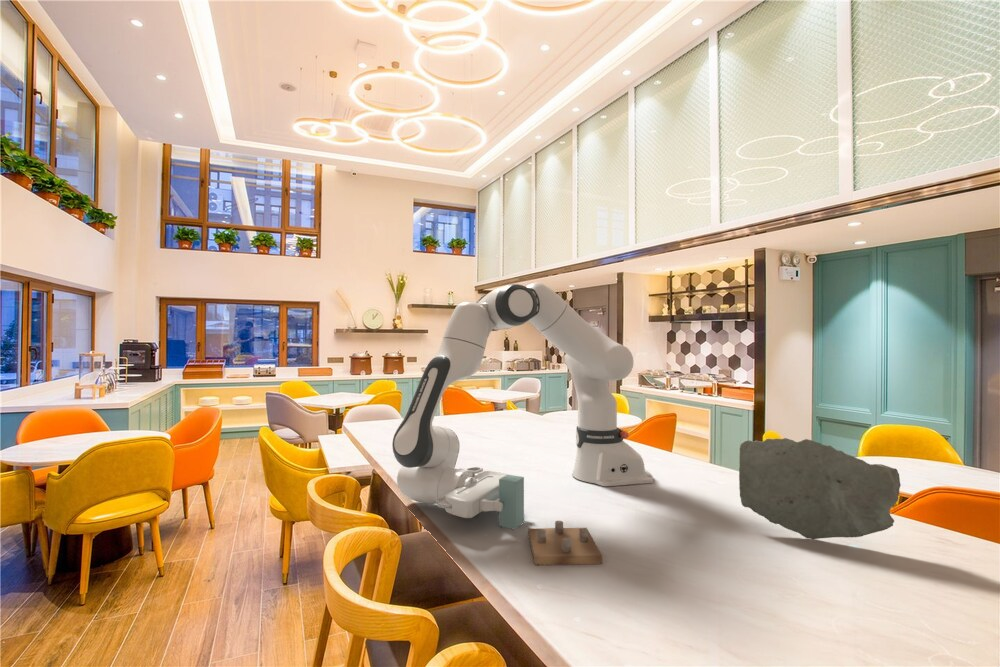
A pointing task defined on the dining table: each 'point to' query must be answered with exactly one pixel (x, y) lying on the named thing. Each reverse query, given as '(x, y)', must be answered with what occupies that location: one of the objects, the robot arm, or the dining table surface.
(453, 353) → the robot arm
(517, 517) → the block
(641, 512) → the dining table surface
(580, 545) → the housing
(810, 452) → the rock
